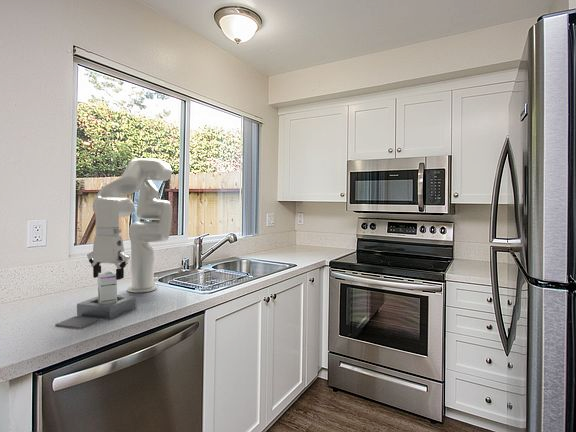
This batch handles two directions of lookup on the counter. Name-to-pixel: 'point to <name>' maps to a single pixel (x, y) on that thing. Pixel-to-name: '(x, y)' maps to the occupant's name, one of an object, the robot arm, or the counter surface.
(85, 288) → the counter surface
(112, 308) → the gray square frame
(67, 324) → the charcoal mat
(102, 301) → the syrup box
